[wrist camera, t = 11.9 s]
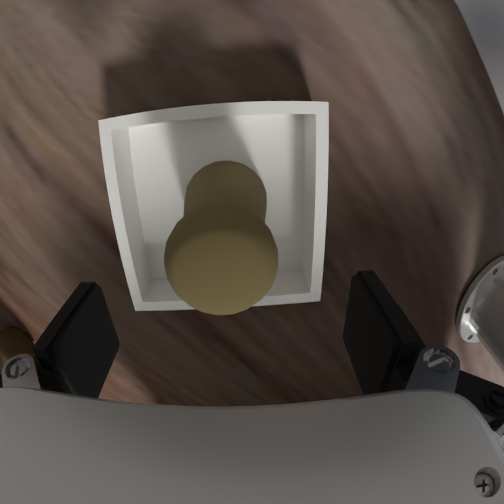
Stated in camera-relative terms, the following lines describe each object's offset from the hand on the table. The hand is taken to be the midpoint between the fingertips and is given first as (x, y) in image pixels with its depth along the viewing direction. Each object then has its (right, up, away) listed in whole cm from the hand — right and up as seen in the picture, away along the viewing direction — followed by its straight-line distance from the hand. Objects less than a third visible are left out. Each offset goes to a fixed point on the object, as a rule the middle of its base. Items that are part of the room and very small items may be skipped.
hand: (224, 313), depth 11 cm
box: (-1, +6, +12) cm, 14 cm away
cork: (-1, +6, +12) cm, 13 cm away
